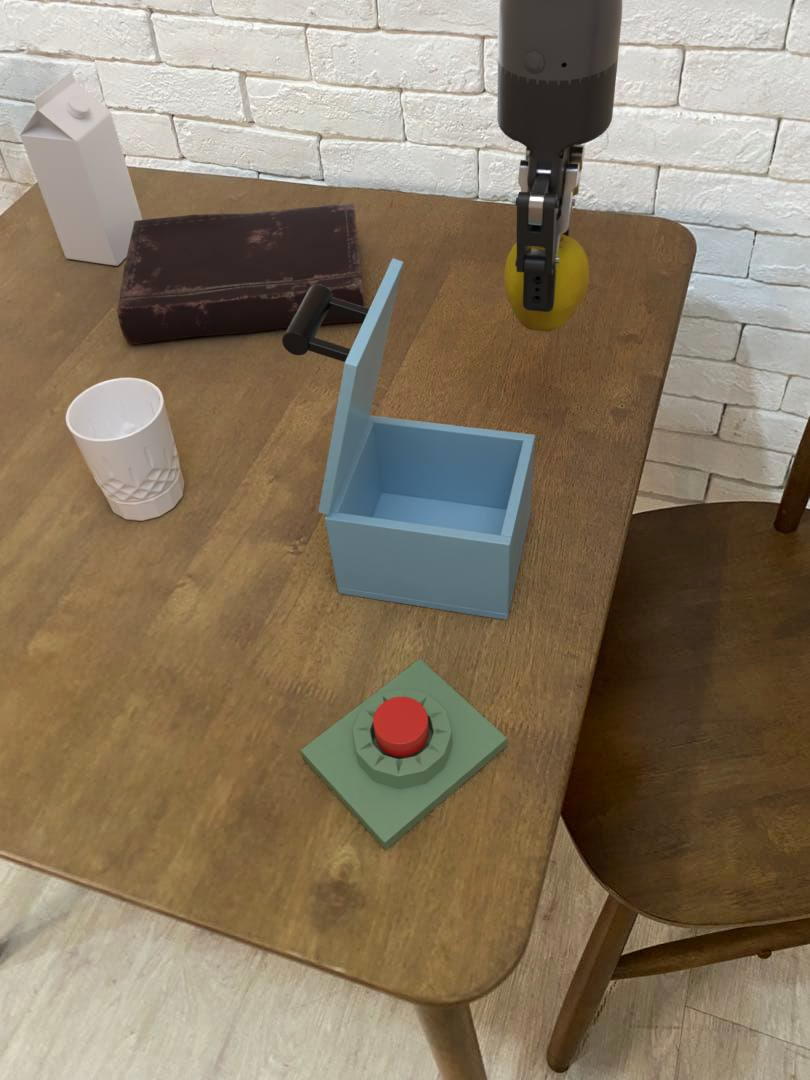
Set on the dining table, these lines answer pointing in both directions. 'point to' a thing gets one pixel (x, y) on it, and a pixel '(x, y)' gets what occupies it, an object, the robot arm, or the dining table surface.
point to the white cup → (128, 446)
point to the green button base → (403, 782)
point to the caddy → (433, 516)
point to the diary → (236, 271)
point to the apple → (567, 287)
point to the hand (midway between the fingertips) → (546, 281)
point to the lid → (346, 366)
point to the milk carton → (81, 173)
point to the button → (401, 726)
